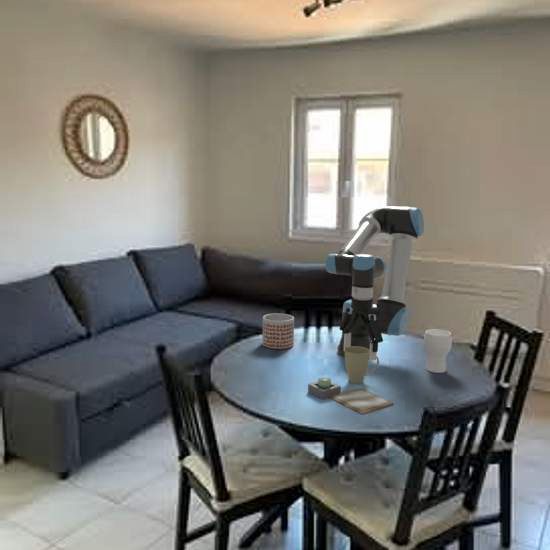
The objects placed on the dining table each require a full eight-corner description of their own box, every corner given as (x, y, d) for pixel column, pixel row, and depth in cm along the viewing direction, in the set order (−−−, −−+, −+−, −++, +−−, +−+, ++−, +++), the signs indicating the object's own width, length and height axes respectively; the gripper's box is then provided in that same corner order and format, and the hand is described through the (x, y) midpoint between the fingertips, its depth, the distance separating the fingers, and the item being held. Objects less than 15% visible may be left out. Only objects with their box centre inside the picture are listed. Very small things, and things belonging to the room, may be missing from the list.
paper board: (329, 397, 193) (329, 395, 193) (359, 389, 201) (360, 387, 200) (361, 414, 180) (361, 412, 180) (393, 404, 188) (393, 402, 188)
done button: (315, 386, 197) (315, 378, 196) (325, 384, 199) (325, 376, 199) (323, 390, 193) (323, 382, 193) (333, 388, 196) (333, 380, 195)
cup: (451, 375, 215) (454, 337, 213) (422, 373, 217) (424, 335, 215) (448, 366, 226) (451, 329, 223) (421, 364, 228) (423, 327, 225)
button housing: (307, 392, 198) (308, 383, 197) (325, 387, 202) (326, 379, 202) (322, 399, 191) (322, 391, 191) (340, 394, 196) (340, 386, 195)
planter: (293, 350, 244) (294, 321, 241) (262, 349, 244) (262, 320, 241) (293, 340, 257) (293, 313, 255) (263, 340, 257) (263, 313, 255)
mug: (354, 388, 201) (355, 356, 199) (338, 379, 210) (339, 348, 208) (379, 383, 206) (380, 351, 204) (362, 374, 215) (364, 344, 213)
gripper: (331, 292, 211) (329, 348, 214) (379, 305, 190) (376, 366, 194) (346, 290, 215) (344, 345, 218) (395, 303, 195) (392, 362, 198)
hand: (359, 355), depth 206 cm, fingers open, 13 cm apart
